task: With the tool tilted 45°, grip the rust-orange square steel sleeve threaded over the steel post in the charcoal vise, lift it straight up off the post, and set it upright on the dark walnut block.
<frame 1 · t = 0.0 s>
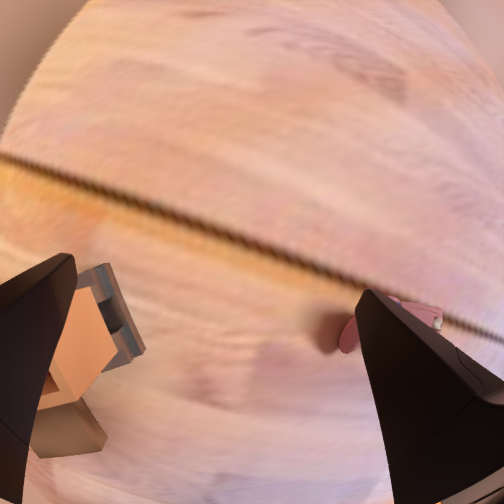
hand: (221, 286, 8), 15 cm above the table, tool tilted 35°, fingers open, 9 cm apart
sleeve: (76, 329, 18), point 3 cm above the table, touching vise
video game controller: (380, 324, 26), on the table
walnut block: (49, 403, 20), on the table
vise: (92, 320, 21), on the table
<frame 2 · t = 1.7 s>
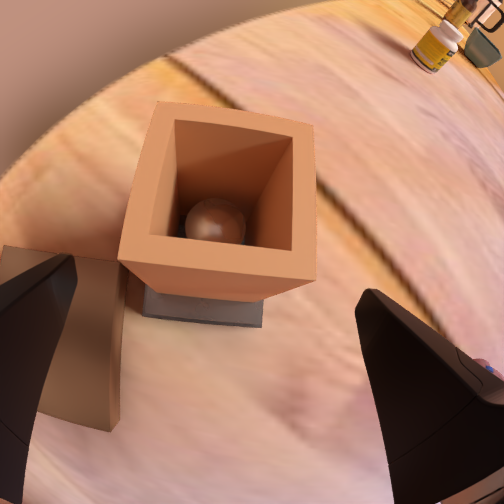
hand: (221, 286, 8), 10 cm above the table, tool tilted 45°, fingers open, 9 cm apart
sleeve: (209, 250, 15), point 3 cm above the table, touching vise
flower pot: (470, 59, 44), on the table
coffee press: (467, 24, 64), on the table
walnut block: (60, 335, 15), on the table
vise: (206, 263, 18), on the table
sauce bottle: (449, 24, 50), on the table
supplement bottle: (421, 64, 33), on the table
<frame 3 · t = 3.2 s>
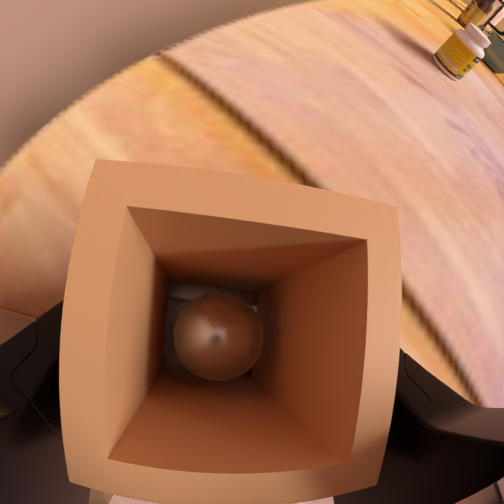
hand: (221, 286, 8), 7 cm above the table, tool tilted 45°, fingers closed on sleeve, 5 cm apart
sleeve: (210, 331, 11), point 4 cm above the table, touching gripper, vise
flower pot: (487, 64, 39), on the table
coffee press: (479, 26, 59), on the table
walnut block: (42, 401, 11), on the table
vise: (206, 328, 15), on the table
sauce bottle: (463, 26, 45), on the table
supplement bottle: (444, 69, 29), on the table
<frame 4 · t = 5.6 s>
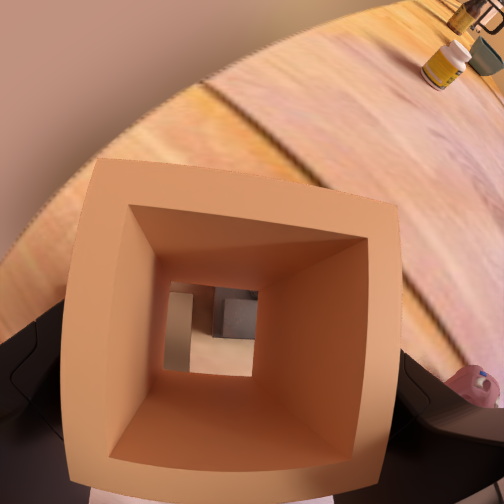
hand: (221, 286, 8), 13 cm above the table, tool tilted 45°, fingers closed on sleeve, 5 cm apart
sleeve: (211, 330, 11), point 10 cm above the table, touching gripper
video game controller: (451, 398, 24), on the table
flower pot: (474, 67, 46), on the table
coffee press: (469, 25, 65), on the table
walnut block: (129, 356, 19), on the table
vise: (260, 288, 22), on the table
sauce bottle: (452, 30, 52), on the table
supplement bottle: (430, 80, 35), on the table
when the fingers open (8 cm above the table, at t = 8.3 s): sleeve drops 1 cm, resting on walnut block.
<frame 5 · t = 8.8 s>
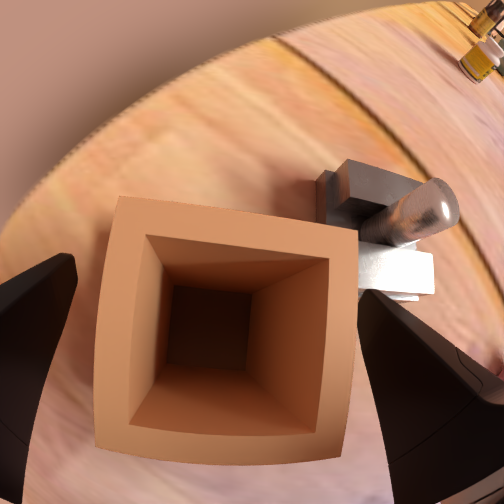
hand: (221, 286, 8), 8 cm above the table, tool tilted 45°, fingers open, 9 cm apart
sleeve: (209, 329, 13), point 2 cm above the table, touching walnut block
flower pot: (496, 68, 42), on the table
coffee press: (485, 31, 62), on the table
walnut block: (206, 327, 15), on the table
vise: (363, 242, 18), on the table
sauce bottle: (473, 33, 49), on the table
supplement bottle: (467, 73, 32), on the table
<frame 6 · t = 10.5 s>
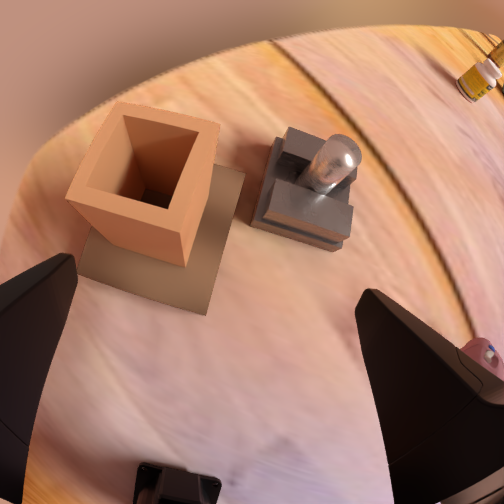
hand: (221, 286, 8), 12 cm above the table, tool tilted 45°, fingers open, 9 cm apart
sleeve: (160, 219, 18), point 2 cm above the table, touching walnut block
video game controller: (456, 379, 23), on the table
walnut block: (163, 230, 20), on the table
vise: (302, 196, 23), on the table
sauce bottle: (492, 62, 52), on the table
supplement bottle: (464, 92, 36), on the table
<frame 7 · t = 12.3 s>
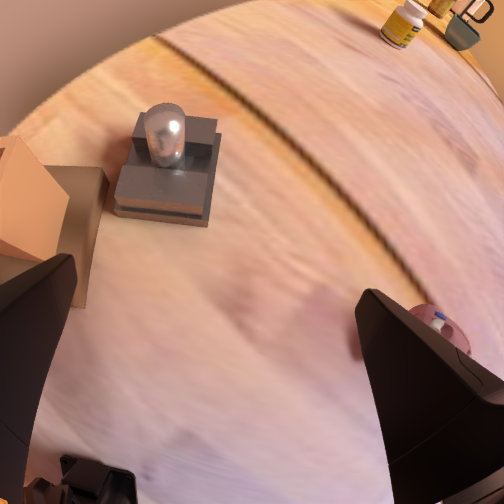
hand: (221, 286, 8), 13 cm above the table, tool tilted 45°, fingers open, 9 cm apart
sleeve: (34, 226, 16), point 2 cm above the table, touching walnut block
video game controller: (408, 356, 23), on the table
flower pot: (451, 43, 46), on the table
coffee press: (457, 16, 66), on the table
walnut block: (48, 236, 19), on the table
vise: (170, 177, 22), on the table
sauce bottle: (433, 13, 52), on the table
supplement bottle: (391, 41, 36), on the table
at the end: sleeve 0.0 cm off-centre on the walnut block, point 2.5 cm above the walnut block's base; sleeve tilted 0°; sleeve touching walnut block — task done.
